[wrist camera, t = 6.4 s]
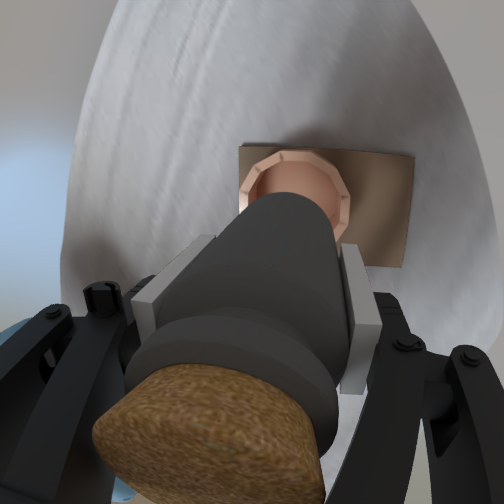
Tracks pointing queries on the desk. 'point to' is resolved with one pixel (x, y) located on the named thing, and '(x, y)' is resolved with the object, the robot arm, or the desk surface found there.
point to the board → (363, 198)
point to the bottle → (239, 368)
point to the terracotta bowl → (300, 183)
